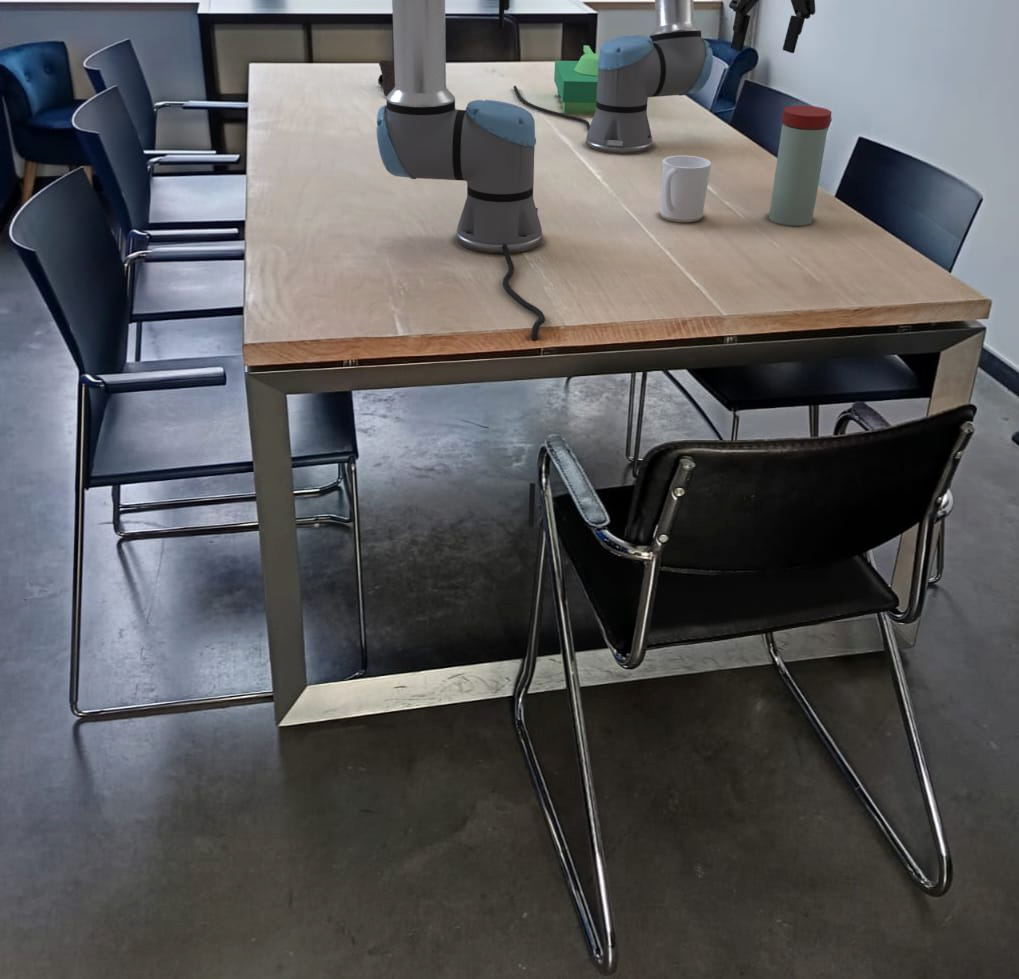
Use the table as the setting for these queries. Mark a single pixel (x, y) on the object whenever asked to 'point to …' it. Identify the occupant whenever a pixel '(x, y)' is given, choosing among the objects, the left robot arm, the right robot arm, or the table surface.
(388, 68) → the axe head
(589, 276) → the table surface
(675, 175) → the mug
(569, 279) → the table surface
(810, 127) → the lid
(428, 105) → the left robot arm
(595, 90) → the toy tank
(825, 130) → the jar
